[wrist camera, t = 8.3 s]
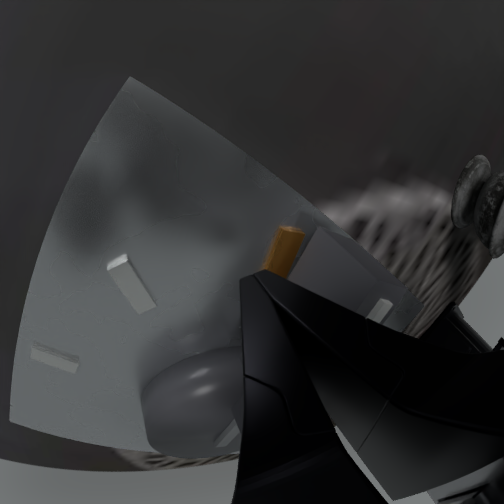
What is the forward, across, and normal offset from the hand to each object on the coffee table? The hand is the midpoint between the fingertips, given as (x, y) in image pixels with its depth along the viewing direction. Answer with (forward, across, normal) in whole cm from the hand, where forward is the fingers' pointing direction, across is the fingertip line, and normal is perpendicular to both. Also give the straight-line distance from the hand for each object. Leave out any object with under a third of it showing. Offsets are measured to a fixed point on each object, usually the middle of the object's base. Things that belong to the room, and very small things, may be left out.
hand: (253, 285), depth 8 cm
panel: (+3, +2, +7) cm, 8 cm away
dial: (+1, +1, +6) cm, 6 cm away
